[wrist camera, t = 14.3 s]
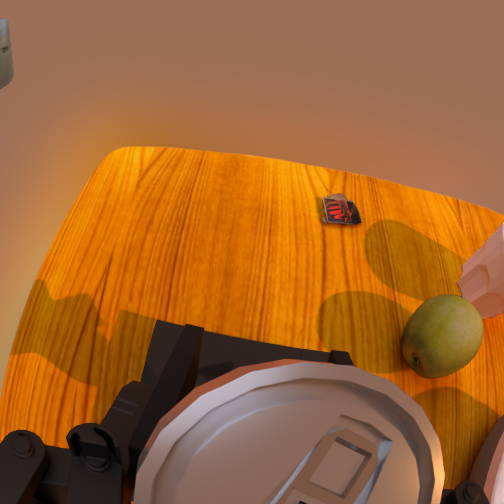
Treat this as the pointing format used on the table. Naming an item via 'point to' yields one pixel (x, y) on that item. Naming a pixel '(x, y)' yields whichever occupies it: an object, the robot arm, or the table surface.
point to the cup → (486, 277)
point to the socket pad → (217, 354)
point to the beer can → (292, 441)
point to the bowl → (491, 464)
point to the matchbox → (340, 210)
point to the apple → (442, 336)
